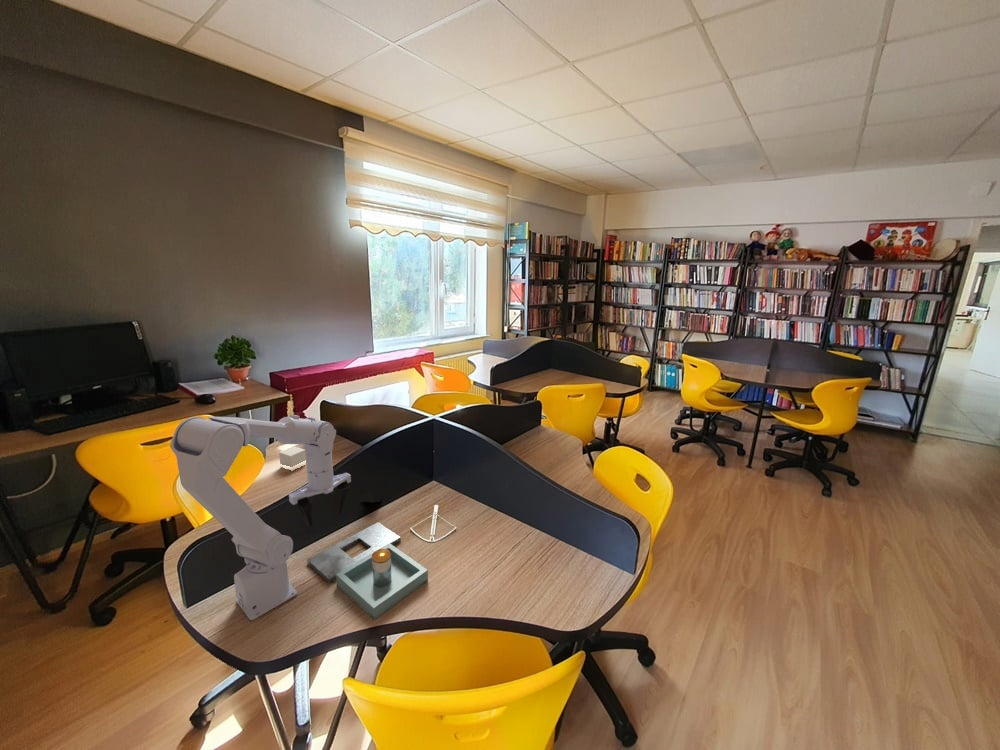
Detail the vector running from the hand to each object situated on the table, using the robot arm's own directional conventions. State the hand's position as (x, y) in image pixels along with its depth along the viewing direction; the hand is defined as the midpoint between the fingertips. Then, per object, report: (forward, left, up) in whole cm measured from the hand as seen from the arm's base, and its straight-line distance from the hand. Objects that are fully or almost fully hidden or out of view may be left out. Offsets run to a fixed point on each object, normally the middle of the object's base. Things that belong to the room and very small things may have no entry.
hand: (324, 517), depth 100 cm
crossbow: (+25, -12, -10) cm, 30 cm away
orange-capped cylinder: (+3, -20, -9) cm, 22 cm away
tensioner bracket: (+5, -6, -9) cm, 12 cm away
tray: (+3, -20, -9) cm, 22 cm away
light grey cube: (+16, +51, -10) cm, 54 cm away
